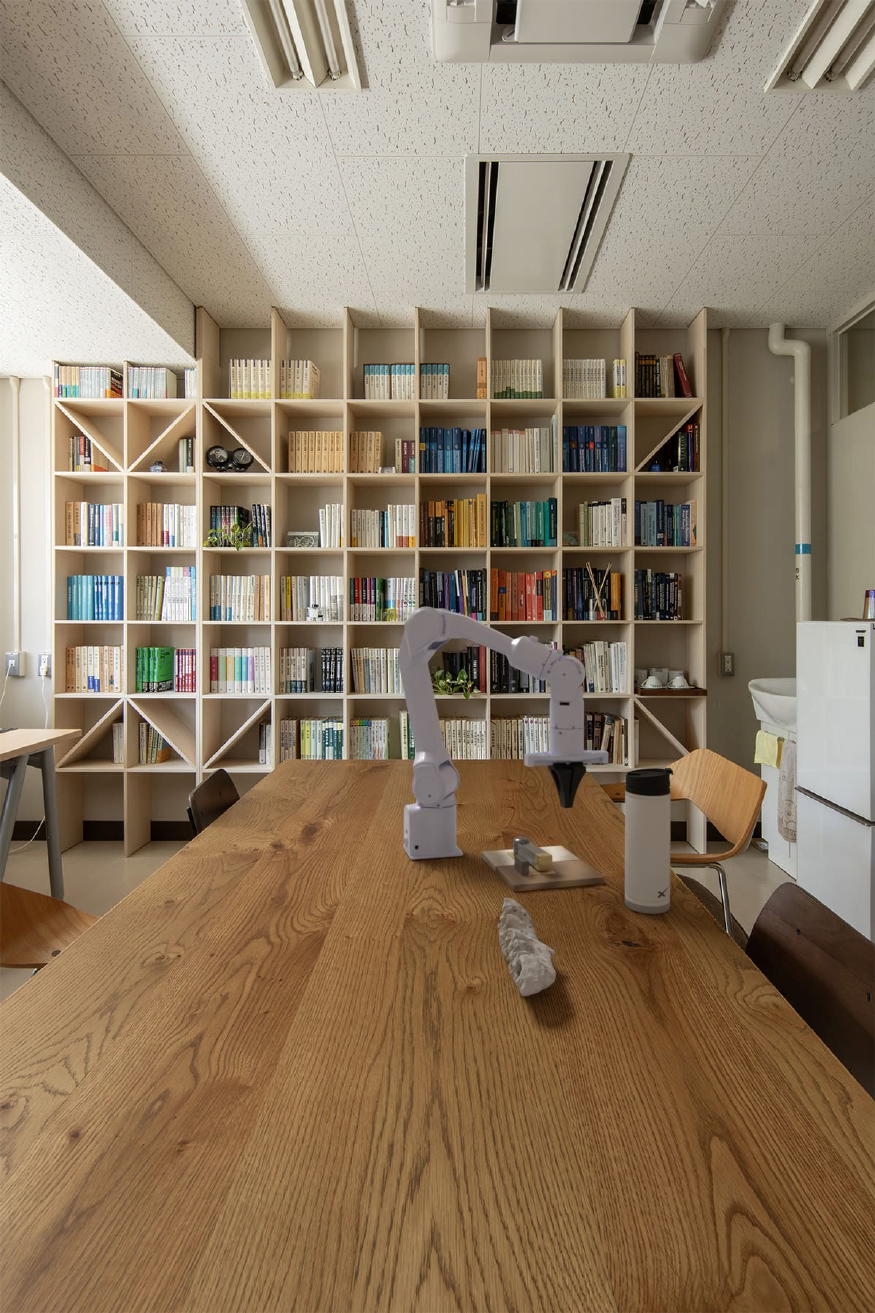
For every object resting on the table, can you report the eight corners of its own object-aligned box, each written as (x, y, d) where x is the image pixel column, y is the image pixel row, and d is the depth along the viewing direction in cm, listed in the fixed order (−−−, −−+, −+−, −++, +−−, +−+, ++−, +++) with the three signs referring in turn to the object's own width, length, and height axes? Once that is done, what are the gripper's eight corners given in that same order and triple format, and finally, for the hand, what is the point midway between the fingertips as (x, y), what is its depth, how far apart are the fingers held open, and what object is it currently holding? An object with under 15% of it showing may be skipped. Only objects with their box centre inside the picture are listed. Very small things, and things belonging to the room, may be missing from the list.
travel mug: (675, 916, 97) (676, 773, 97) (626, 913, 98) (626, 771, 98) (669, 899, 103) (670, 765, 103) (623, 896, 105) (623, 763, 104)
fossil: (492, 931, 93) (492, 894, 93) (537, 930, 93) (537, 893, 93) (517, 1016, 72) (517, 968, 72) (575, 1015, 72) (575, 967, 72)
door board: (513, 891, 107) (513, 871, 107) (481, 857, 123) (481, 839, 123) (603, 883, 110) (604, 863, 110) (561, 851, 127) (561, 833, 127)
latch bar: (510, 852, 122) (510, 837, 122) (525, 851, 123) (525, 836, 122) (538, 872, 112) (538, 855, 112) (553, 870, 113) (553, 853, 112)
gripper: (534, 731, 113) (534, 815, 114) (616, 728, 116) (616, 809, 117) (520, 726, 120) (520, 804, 120) (598, 723, 123) (597, 800, 124)
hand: (566, 806), depth 119 cm, fingers closed
